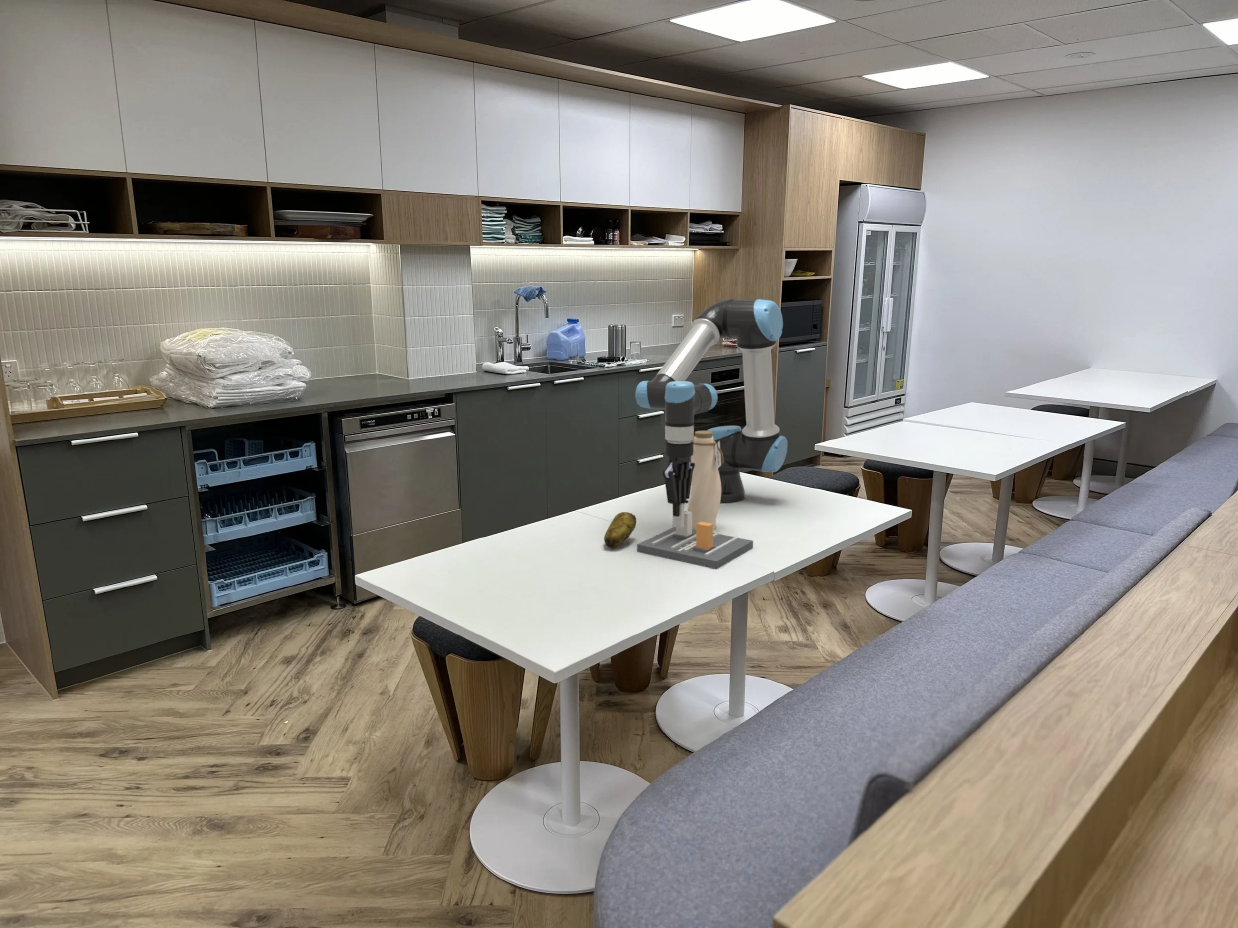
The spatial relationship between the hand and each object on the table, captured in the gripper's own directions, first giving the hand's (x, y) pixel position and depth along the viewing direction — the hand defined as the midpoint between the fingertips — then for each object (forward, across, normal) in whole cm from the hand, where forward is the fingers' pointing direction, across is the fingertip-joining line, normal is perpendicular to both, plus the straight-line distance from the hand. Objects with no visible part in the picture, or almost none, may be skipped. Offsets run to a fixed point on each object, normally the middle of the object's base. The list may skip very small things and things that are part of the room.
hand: (678, 526), depth 231 cm
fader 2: (+4, +3, +10) cm, 11 cm away
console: (+6, 0, +5) cm, 8 cm away
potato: (+6, +7, -15) cm, 17 cm away
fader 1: (+4, -3, 0) cm, 5 cm away
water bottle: (+6, -20, -3) cm, 21 cm away
